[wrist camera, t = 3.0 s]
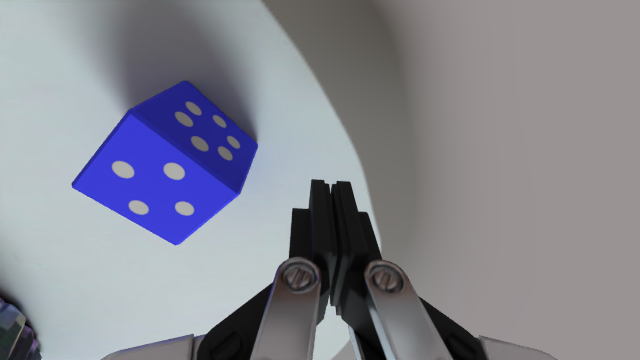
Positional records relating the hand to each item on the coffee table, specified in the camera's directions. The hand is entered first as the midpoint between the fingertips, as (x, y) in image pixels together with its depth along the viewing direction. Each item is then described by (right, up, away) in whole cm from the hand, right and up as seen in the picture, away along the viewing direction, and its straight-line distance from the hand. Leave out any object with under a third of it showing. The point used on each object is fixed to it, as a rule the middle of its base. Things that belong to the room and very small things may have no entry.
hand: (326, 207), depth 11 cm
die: (-7, +4, +4) cm, 9 cm away
